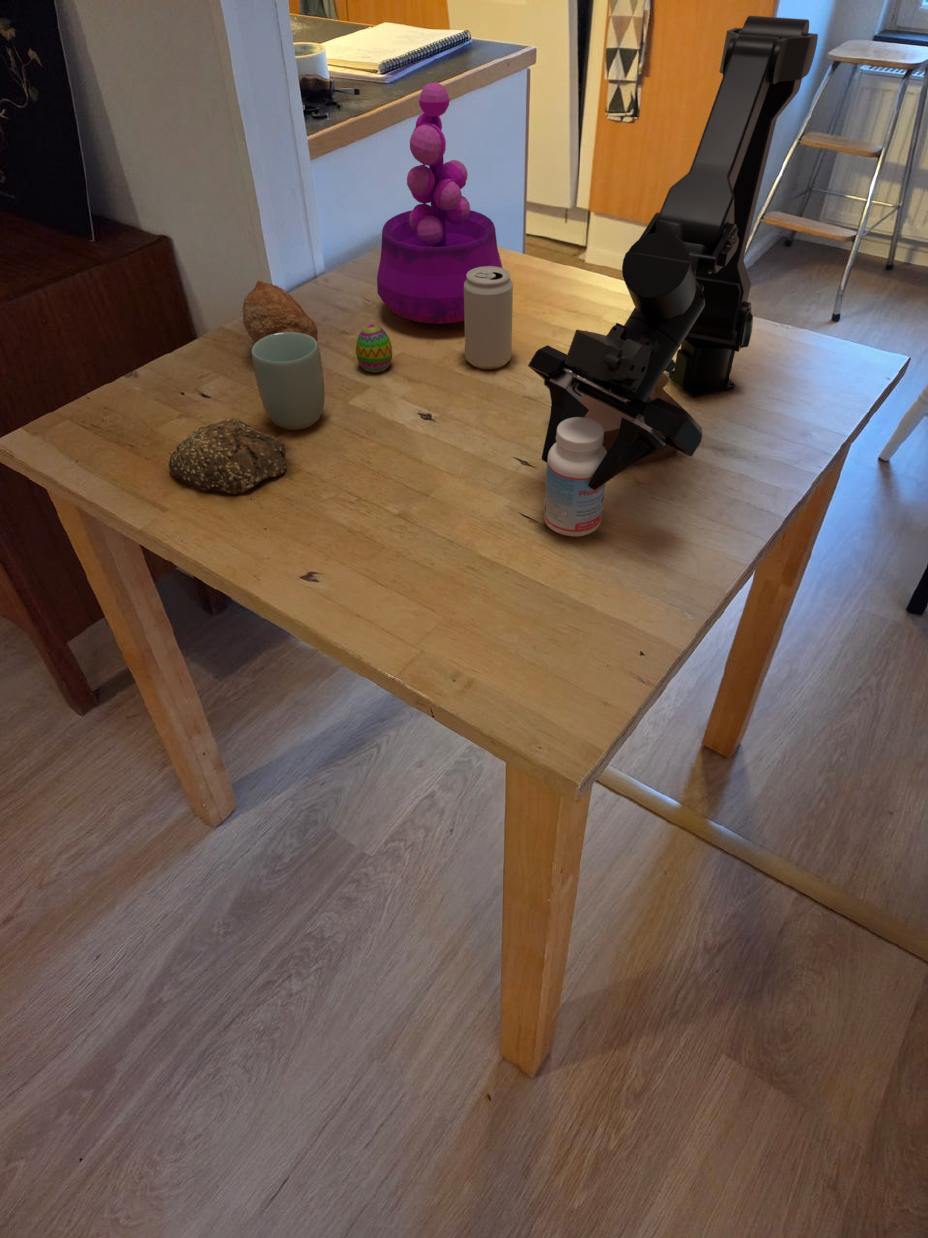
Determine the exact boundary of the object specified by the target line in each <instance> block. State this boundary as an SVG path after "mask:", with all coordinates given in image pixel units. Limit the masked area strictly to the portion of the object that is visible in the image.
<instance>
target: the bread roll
mask: <svg viewBox="0 0 928 1238" xmlns="http://www.w3.org/2000/svg"><path fill="white" fill-rule="evenodd" d="M285 446H286V444H285V443H284V442H283V441H280V440H279V439H278V438H276V437H275V436H273V435H270V434H266V432H263V431H259V430H257V429H254V427H253V426H251V425H249V424H247V423H245V421H243V420H242V419H235V418H234V417H230V418H227V419H223V420H221V421H219V422H218V421H216V422H213V423H210V424H209V425H206V426H200V427H199V428H197V429H195V430H192V431H191V432H190V433H189V434H188V435H187V436H186V438H185V439H181V440H180V443H177V444H176V450H173V451H172V454H171V455H170V457H169V462H168V468H169V471H170V473H171V476H173V477H175V478H177V479H178V480H179V481H180V482H182V484H183V483H184V484H188V485H189V486H192V487H194V488H197V489H199V490H200V491H204V492H219V493H226V494H230V495H240V494H243V493H246V492H247V491H249V490H252V489H253V488H254V487H255V486H257V485H258V484H260V483H261V482H262V480H266V479H268V478H277V477H279V476H281V475H283V474H285V472H286V469H287V462H286V459H285V458H284V457H283V455H284V454H285V453H286V447H285Z"/></svg>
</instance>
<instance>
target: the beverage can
mask: <svg viewBox="0 0 928 1238" xmlns="http://www.w3.org/2000/svg"><path fill="white" fill-rule="evenodd" d="M466 276H467V279H466V281H465V283H464V321H463V322H464V357H465V359H466V361H467V362H468V363H469V364H471V365H472V366H473V367H475V368H477V369H482V370H495V369H500V368H502V367H504V366H505V365H506V364H507V363H508V362H509V361H510V360H511V358H512V352H513V351H512V350H513V348H512V347H513V309H514V307H513V304H514V303H513V301H514V300H513V299H514V298H513V297H514V282H513V281H512V279H511V272H510V271H509V270H507V269H506V268H504V267H502V268H500V267H494V266H484V267H478V268H474V269H472V270H470V271H469V272H468V273H467V275H466Z"/></svg>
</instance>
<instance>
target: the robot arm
mask: <svg viewBox="0 0 928 1238" xmlns="http://www.w3.org/2000/svg"><path fill="white" fill-rule="evenodd" d="M809 31H810V20H809V19H807V18H806V19H805V18H792V17H779V16H764V15H763V16H761V15H749V16H747V18H746V19H745V21H744V23H743V26H742V27H733V28H731V29H728V30H726V33H725V39H724V44H723V49H722V55H721V62H720V67H719V73H720V74H721V75H722V78H721V81H720V83H719V87H718V90H717V93H716V95H715V98H714V101H713V103H712V107H711V109H710V112H709V115H708V117H707V121H706V124H705V126H704V129H703V133H702V134H701V138H700V140H699V142H698V143H699V144H698V147H697V149H696V152H695V155H694V157H693V160H692V164H691V165H690V168H689V171H688V172H687V173H686V174H685V175H683V176H682V177H681V178H680V179H679V180H678V181H676V182H675V183H674V184H672V185H671V186H670V187H669V189H668V192H667V194H666V196H665V198H664V201H663V203H662V206H661V208H660V211H657V212H655V214H654V215H653V217H652V218H651V220H650V221H649V223H648V224H647V225H646V228H645V229H644V231H643V232H642V234H641V236H640V237H639V238H638V239H637V240H636V241H635V242H634V243H633V244H632V245H631V247H629V249H628V251H627V252H626V253H625V254H624V257H623V259H622V266H621V272H622V273H621V274H622V278H623V281H624V283H625V286H626V288H627V291H628V293H629V296H630V298H631V300H632V303H633V305H634V308H633V310H632V311H631V313H630V315H629V316H628V318H627V319H626V321H625V323H624V324H621V323H619V322H615V325H613V326H611V328H610V330H609V332H608V333H607V334H603V333H602V334H601V333H599V332H598V333H597V332H593V331H588V330H582V329H575V331H574V335H573V337H572V340H571V344H570V346H569V349H568V352H567V353H565V352H563V351H560V350H559V349H557V348H554V347H552V346H550V345H545V346H543V347H541V348H538V349H537V350H536V351H535V353H534V355H533V356H532V358H531V359H530V361H529V362H528V364H527V367H528V368H530V369H531V370H532V371H533V372H534V373H536V375H538V376H539V377H540V378H541V379H543V385H544V386H545V387H546V388H547V389H549V395H550V396H549V397H550V404H551V405H550V413H549V421H548V424H547V425H548V426H547V430H546V435H545V439H544V445H543V449H542V452H541V453H542V454H541V460H542V461H543V462H545V463H546V464H547V460H548V453H549V451H550V449H551V447H552V446H553V445H554V444H555V443H556V442H557V441H556V433H557V427H558V425H559V424H560V423H561V422H562V421H564V420H566V419H569V418H573V417H584V416H585V415H586V414H587V412H588V411H589V409H588V408H586V407H585V406H584V405H583V404H582V403H581V400H582V399H583V397H584V395H587V396H589V397H591V398H593V399H595V400H597V401H599V402H601V403H603V404H605V405H607V406H609V407H611V408H613V409H615V410H617V411H619V412H621V413H623V414H625V415H627V416H629V417H631V418H633V419H635V420H634V422H631V421H629V420H627V419H625V418H623V417H622V419H621V423H620V428H619V432H618V436H617V438H616V440H615V441H614V443H613V445H612V446H611V448H610V449H609V451H608V452H607V454H606V455H605V457H604V458H603V460H602V461H601V463H600V465H599V466H598V468H597V469H596V471H595V472H594V474H593V476H592V478H591V480H590V482H589V485H588V486H589V487H590V488H591V489H593V490H596V489H597V488H599V487H600V486H602V485H603V484H605V483H606V484H607V483H608V482H609V481H611V480H612V479H613V478H615V477H616V476H617V475H618V474H620V473H622V472H623V471H625V470H626V469H628V468H629V467H631V466H633V465H632V464H634V463H636V462H637V461H639V460H641V459H643V458H645V457H646V456H648V455H650V454H652V453H654V452H655V451H659V452H662V453H664V452H665V451H666V448H665V447H664V445H665V444H667V445H668V446H670V447H672V448H674V449H676V450H677V452H680V453H682V454H683V455H686V456H687V457H693V455H694V454H695V452H696V450H698V447H699V446H700V445H701V443H702V438H703V427H702V426H701V425H700V424H699V423H698V422H697V421H696V420H695V419H694V418H693V416H692V415H691V414H690V413H689V412H688V410H686V409H685V410H686V411H685V410H683V409H681V408H679V407H677V406H675V405H673V404H670V403H668V402H666V401H664V400H662V399H660V398H656V399H654V400H652V399H651V398H650V397H649V395H650V394H651V392H652V391H653V389H654V387H655V386H656V384H657V383H658V381H659V379H660V378H661V376H662V374H663V373H664V374H665V372H667V373H668V378H669V379H672V380H673V381H674V382H675V383H676V385H678V386H679V387H680V388H681V389H682V390H683V391H685V392H686V393H687V394H688V395H689V396H690V397H692V398H698V397H703V396H709V395H712V394H713V395H714V394H718V393H723V392H727V391H732V390H735V389H736V383H735V382H734V381H732V380H731V379H730V377H731V373H732V369H733V368H732V367H733V364H734V359H735V355H736V352H737V353H739V352H740V350H741V349H743V348H748V347H749V345H750V342H751V337H752V333H753V324H754V315H753V313H752V302H750V301H749V297H750V292H751V288H752V282H751V280H750V277H749V272H748V270H747V267H746V264H745V261H744V259H745V254H746V251H747V246H748V242H749V237H750V233H751V230H752V226H753V221H754V218H755V212H756V207H757V204H758V200H759V196H760V191H761V187H762V182H763V178H764V175H765V171H766V168H767V167H766V166H767V162H768V157H769V153H770V149H771V145H772V140H773V137H774V133H775V129H776V124H777V120H778V118H779V117H780V115H781V114H782V113H783V112H784V111H785V109H786V108H787V107H788V105H789V104H790V103H791V102H792V101H793V99H794V98H795V97H796V95H798V93H799V91H800V89H801V85H802V82H803V79H804V78H805V77H807V76H808V75H809V73H810V71H811V68H812V65H813V63H814V59H815V54H816V50H817V45H818V39H819V34H818V33H812V32H809ZM675 355H676V358H675V360H674V359H673V358H674V357H675ZM609 390H610V391H609ZM629 401H630V402H629Z"/></svg>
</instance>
